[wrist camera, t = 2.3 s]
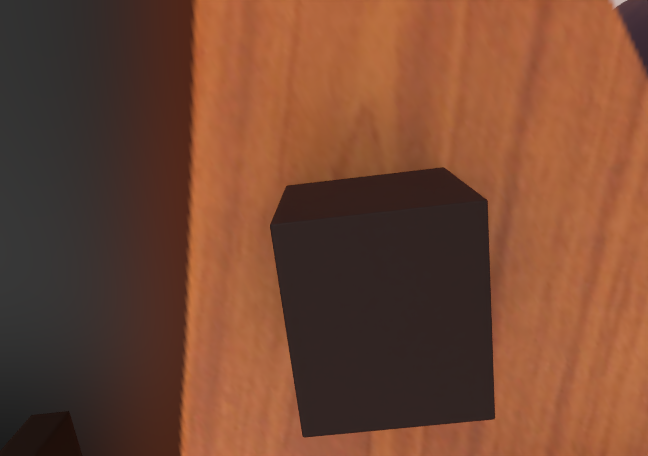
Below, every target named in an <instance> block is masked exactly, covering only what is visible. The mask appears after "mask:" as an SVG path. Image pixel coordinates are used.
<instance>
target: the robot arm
mask: <svg viewBox="0 0 648 456" xmlns="http://www.w3.org/2000/svg"><path fill="white" fill-rule="evenodd" d="M0 456H82V453H81V450H80V447H79V443H78V440H77V436H76V433H75V430H74V426H73V423H72V420H71V416H70V413H69V411H66V412H57V413H47V414H37V415H31V416H30V418H29V419H28V420H27V421H26V422H25V423H24V424H23V426H22V427H21V428H20V429H19V430H18V431H17V432H16V434H15V435H14V436H13V437H12V439H10V440H9V441H8V443H7V444H6V445H5V446H4V447H3V448H2V450H1V451H0Z"/></svg>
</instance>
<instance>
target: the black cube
mask: <svg viewBox="0 0 648 456" xmlns="http://www.w3.org/2000/svg"><path fill="white" fill-rule="evenodd" d="M270 229H271V236H272V242H273V249H274V255H275V262H276V268H277V274H278V281H279V287H280V294H281V300H282V307H283V313H284V319H285V326H286V332H287V339H288V345H289V352H290V358H291V364H292V371H293V377H294V384H295V390H296V397H297V403H298V409H299V416H300V422H301V429H302V435H303V437H314V436H324V435H335V434H345V433H356V432H366V431H377V430H387V429H398V428H408V427H419V426H429V425H440V424H450V423H460V422H471V421H481V420H492V419H495V405H494V375H493V346H492V317H491V288H490V259H489V230H488V201H487V200H486V199H485V198H483V197H482V196H481V195H480V194H478V193H477V192H476V191H474V190H473V189H472V188H470V187H469V186H468V185H466V184H465V183H464V182H462V181H461V180H460V179H458V178H457V177H456V176H455V175H453V174H452V173H451V172H449V171H448V170H447V169H445V168H435V169H426V170H418V171H409V172H401V173H392V174H384V175H375V176H367V177H358V178H350V179H341V180H333V181H324V182H315V183H307V184H298V185H290V186H286V188H285V191H284V193H283V195H282V198H281V200H280V203H279V205H278V208H277V210H276V212H275V215H274V217H273V220H272V222H271V224H270Z"/></svg>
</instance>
